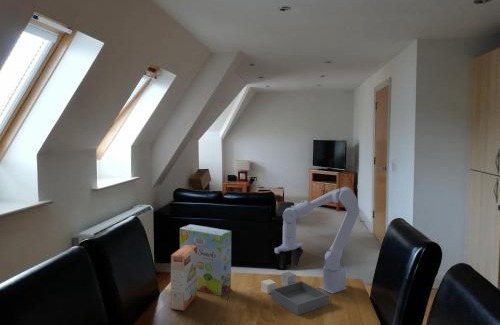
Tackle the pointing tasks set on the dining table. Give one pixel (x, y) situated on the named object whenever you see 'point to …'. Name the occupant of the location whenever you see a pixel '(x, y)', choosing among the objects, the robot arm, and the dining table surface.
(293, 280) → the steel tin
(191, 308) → the dining table surface
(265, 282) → the white cube
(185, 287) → the cracker box
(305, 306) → the tote
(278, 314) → the dining table surface
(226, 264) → the snack box
